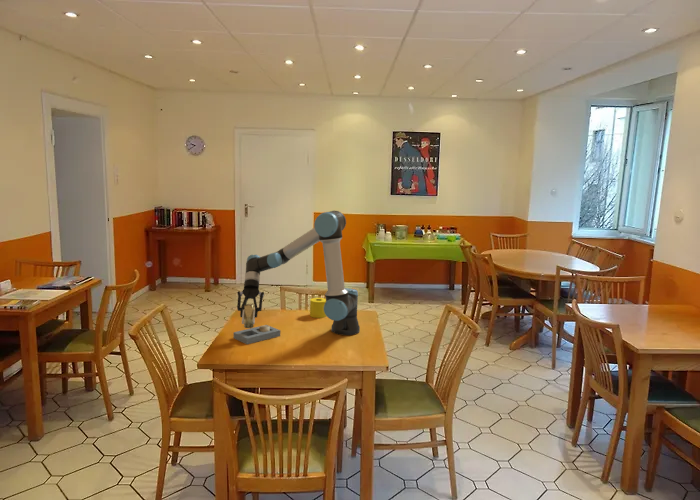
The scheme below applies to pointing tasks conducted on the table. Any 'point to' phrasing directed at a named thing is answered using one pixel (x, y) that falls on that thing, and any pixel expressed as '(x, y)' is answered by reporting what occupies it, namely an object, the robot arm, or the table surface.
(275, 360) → the table surface
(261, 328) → the wooden plug
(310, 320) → the table surface
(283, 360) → the table surface
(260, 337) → the jig plate
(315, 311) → the tape roll
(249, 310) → the brass cylinder
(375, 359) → the table surface
